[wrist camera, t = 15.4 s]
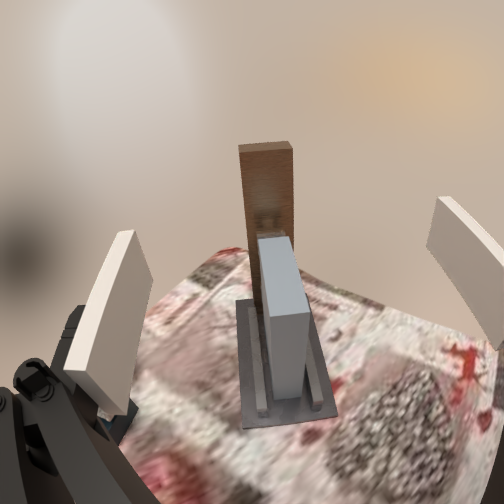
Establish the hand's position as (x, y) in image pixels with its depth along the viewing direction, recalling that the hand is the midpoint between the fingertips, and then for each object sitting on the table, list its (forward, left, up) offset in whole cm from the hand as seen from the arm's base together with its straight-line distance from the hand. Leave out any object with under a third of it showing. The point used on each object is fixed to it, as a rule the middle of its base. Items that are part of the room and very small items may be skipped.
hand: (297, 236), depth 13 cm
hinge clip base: (0, -11, -25) cm, 27 cm away
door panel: (-1, -10, -24) cm, 26 cm away
